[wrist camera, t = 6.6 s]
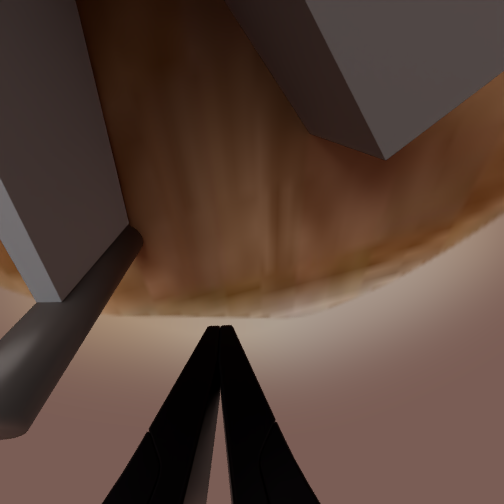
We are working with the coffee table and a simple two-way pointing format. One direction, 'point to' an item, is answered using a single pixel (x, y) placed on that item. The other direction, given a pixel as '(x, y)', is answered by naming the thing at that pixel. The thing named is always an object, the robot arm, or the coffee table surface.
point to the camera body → (375, 62)
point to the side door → (53, 200)
